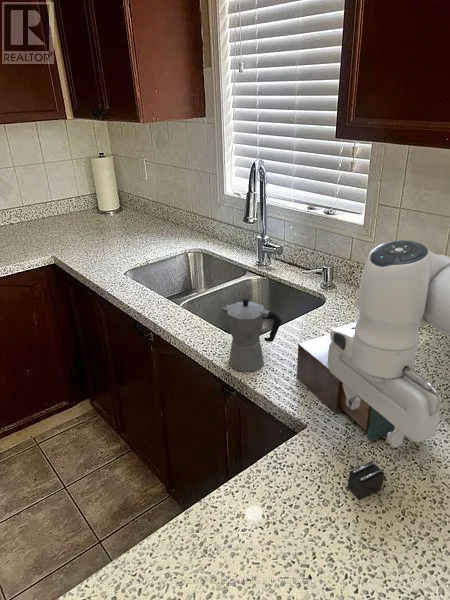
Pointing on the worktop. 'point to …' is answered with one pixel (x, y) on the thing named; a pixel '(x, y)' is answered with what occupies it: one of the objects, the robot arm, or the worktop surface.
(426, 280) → the robot arm
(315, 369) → the cabinet
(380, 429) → the drawer
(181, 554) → the worktop surface
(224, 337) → the worktop surface
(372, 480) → the clip
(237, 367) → the coffeepot
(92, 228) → the worktop surface
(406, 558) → the worktop surface
